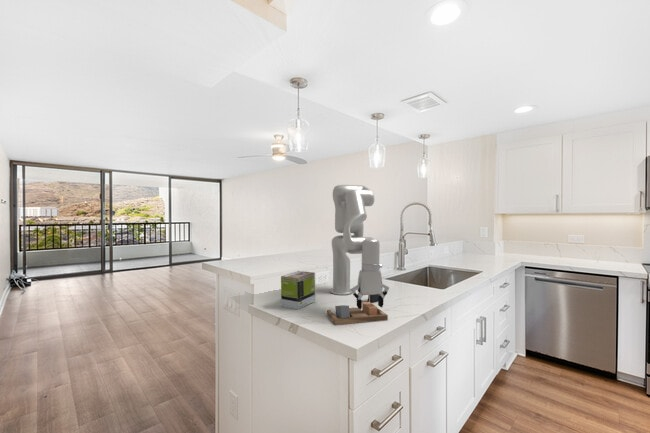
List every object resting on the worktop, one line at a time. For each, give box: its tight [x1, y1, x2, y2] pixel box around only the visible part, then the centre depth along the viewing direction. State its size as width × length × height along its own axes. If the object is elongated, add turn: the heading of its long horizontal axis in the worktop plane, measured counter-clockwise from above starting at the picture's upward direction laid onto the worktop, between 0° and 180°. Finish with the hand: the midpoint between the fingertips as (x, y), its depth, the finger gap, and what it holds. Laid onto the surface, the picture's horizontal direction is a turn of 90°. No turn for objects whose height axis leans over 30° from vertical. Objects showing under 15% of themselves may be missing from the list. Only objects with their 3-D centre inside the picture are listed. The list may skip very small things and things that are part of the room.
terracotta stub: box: [361, 301, 378, 316], centre depth 129 cm, size 8×4×4 cm, turn 15°
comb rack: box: [326, 307, 389, 326], centre depth 126 cm, size 12×22×2 cm, turn 105°
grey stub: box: [334, 304, 350, 318], centre depth 123 cm, size 8×4×4 cm, turn 15°
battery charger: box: [367, 294, 379, 303], centre depth 150 cm, size 7×4×11 cm, turn 125°
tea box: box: [280, 270, 316, 310], centre depth 144 cm, size 15×10×15 cm
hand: (370, 307), depth 128 cm, fingers open, 9 cm apart
